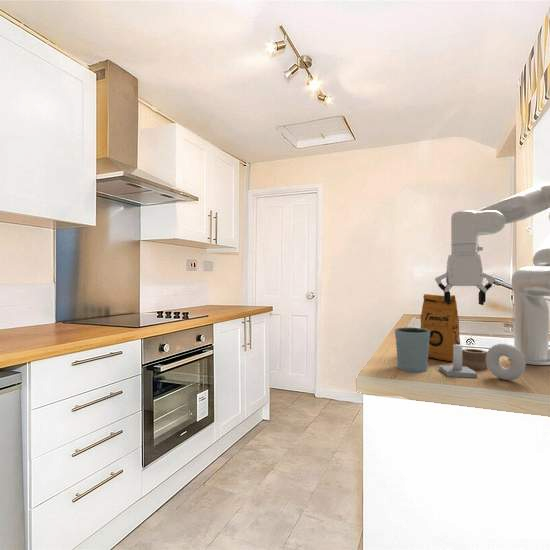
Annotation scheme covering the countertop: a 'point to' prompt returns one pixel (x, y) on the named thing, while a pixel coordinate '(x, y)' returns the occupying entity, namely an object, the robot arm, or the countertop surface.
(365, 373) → the countertop surface
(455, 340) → the coffee package
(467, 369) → the peg stand
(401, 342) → the blue grey cup
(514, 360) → the donut
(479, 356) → the ring
